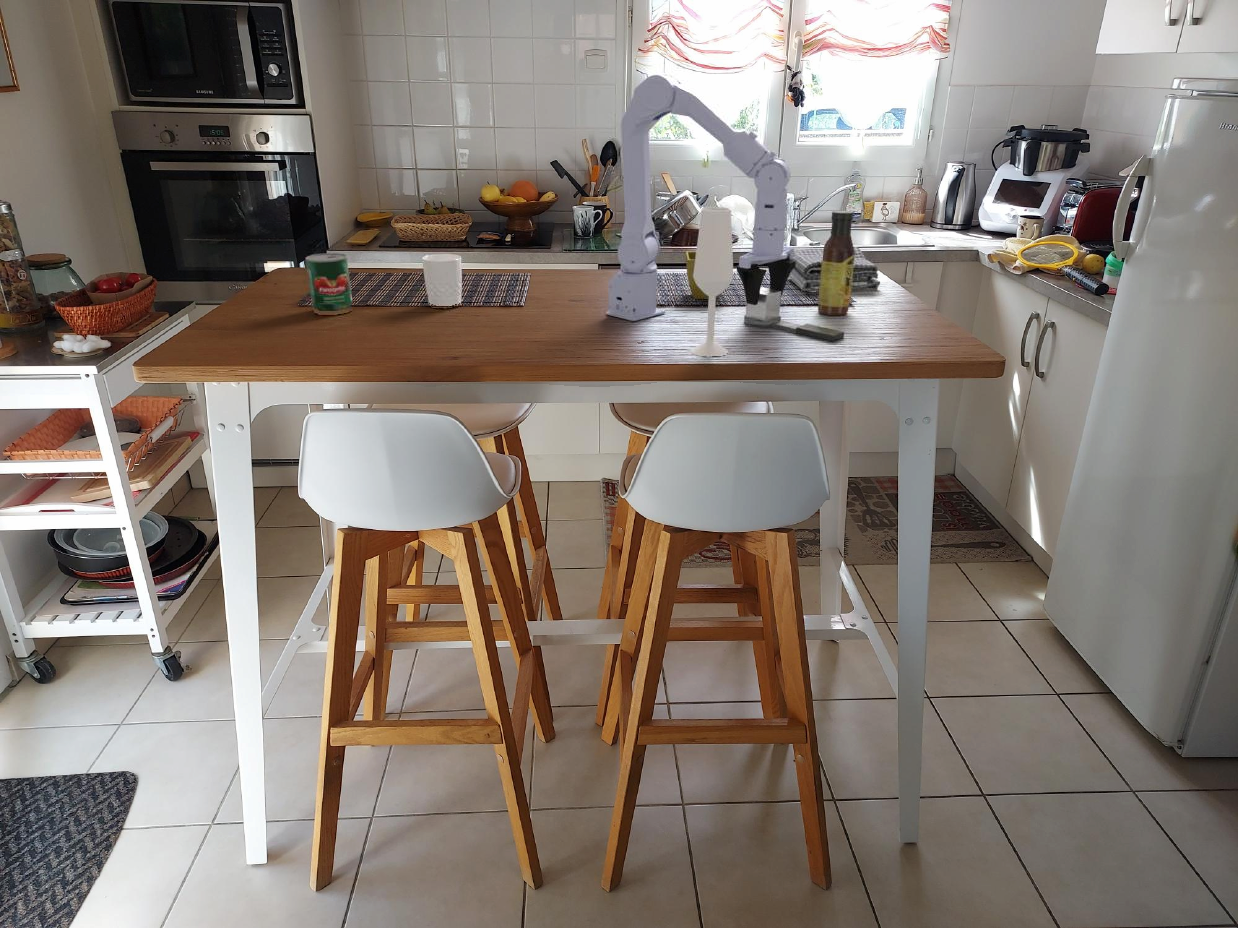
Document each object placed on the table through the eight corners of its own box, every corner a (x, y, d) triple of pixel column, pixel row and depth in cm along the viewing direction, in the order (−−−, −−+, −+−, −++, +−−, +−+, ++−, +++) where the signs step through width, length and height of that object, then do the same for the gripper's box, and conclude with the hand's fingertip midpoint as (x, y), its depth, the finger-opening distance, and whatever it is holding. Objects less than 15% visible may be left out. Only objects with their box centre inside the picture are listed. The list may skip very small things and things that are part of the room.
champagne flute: (725, 346, 150) (733, 206, 141) (731, 357, 144) (740, 211, 134) (688, 346, 150) (693, 206, 140) (692, 357, 144) (698, 212, 134)
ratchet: (848, 337, 156) (850, 316, 154) (827, 345, 151) (829, 323, 150) (758, 317, 169) (759, 298, 168) (736, 323, 165) (737, 304, 163)
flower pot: (727, 302, 181) (729, 259, 177) (686, 301, 181) (687, 259, 177) (723, 292, 189) (725, 251, 185) (684, 292, 189) (685, 251, 185)
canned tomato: (328, 318, 168) (320, 262, 163) (305, 312, 172) (296, 257, 168) (361, 310, 173) (355, 256, 169) (338, 304, 178) (330, 251, 173)
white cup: (468, 301, 180) (465, 254, 176) (459, 310, 173) (455, 261, 169) (432, 300, 181) (428, 253, 177) (421, 309, 174) (416, 260, 170)
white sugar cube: (764, 321, 161) (766, 295, 159) (745, 316, 164) (747, 291, 162) (779, 316, 164) (781, 291, 162) (759, 312, 167) (761, 287, 165)
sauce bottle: (849, 317, 169) (860, 214, 161) (817, 315, 170) (827, 213, 162) (847, 309, 175) (859, 210, 166) (816, 308, 176) (826, 209, 168)
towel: (783, 280, 202) (786, 246, 199) (858, 279, 203) (862, 245, 200) (801, 294, 188) (804, 259, 185) (881, 293, 190) (886, 258, 186)
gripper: (763, 235, 150) (758, 310, 156) (809, 226, 159) (803, 298, 165) (731, 230, 155) (727, 304, 160) (778, 222, 164) (773, 292, 169)
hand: (764, 300), depth 163 cm, fingers open, 7 cm apart
